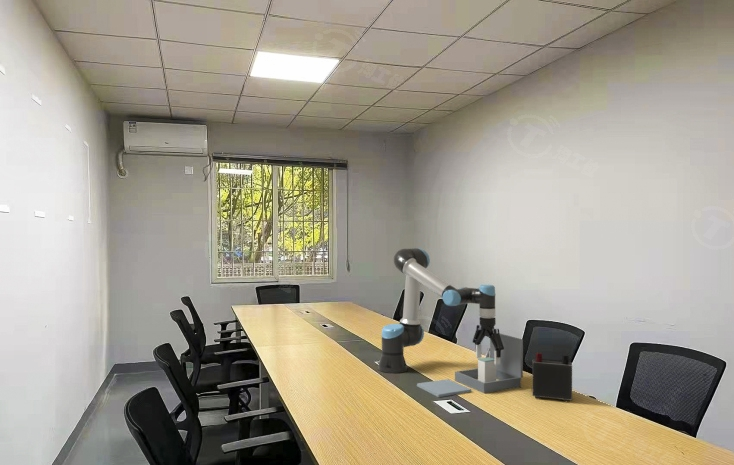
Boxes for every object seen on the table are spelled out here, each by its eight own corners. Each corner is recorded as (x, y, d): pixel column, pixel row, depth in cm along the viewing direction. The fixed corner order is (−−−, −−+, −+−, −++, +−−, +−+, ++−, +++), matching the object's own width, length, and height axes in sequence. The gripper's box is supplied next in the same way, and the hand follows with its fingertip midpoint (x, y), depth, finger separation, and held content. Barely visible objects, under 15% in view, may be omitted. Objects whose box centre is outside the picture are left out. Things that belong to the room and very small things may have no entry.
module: (478, 383, 239) (478, 358, 240) (489, 381, 242) (489, 357, 243) (484, 386, 235) (484, 360, 235) (496, 384, 238) (496, 359, 238)
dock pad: (416, 386, 234) (416, 383, 234) (448, 381, 242) (448, 379, 242) (438, 397, 218) (438, 394, 218) (471, 391, 226) (471, 389, 226)
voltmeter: (569, 392, 227) (569, 348, 227) (572, 403, 212) (572, 356, 212) (532, 388, 232) (533, 345, 233) (532, 399, 217) (532, 353, 217)
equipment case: (453, 379, 245) (453, 334, 245) (490, 374, 255) (490, 330, 255) (483, 393, 224) (484, 343, 224) (522, 386, 234) (522, 339, 234)
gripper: (511, 319, 230) (511, 365, 229) (477, 313, 252) (477, 355, 251) (498, 321, 226) (499, 367, 226) (465, 314, 249) (465, 356, 248)
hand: (487, 361), depth 239 cm, fingers open, 13 cm apart
